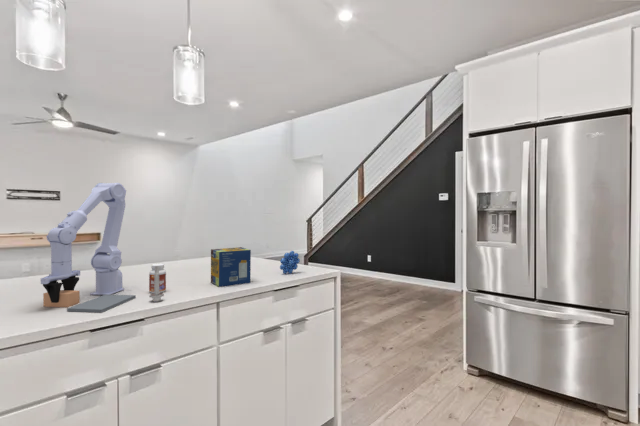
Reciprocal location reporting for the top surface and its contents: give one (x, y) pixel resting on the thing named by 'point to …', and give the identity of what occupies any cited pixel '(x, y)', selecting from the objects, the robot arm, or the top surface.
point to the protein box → (230, 266)
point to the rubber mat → (101, 303)
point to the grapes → (289, 262)
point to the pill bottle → (162, 278)
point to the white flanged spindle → (156, 287)
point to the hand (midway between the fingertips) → (61, 300)
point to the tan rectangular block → (63, 299)
